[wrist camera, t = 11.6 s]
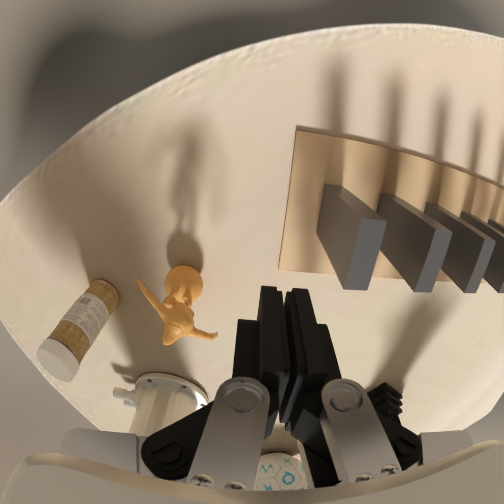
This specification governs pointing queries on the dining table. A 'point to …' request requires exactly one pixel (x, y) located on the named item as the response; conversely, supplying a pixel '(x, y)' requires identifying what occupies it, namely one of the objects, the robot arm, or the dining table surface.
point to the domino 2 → (412, 242)
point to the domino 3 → (463, 249)
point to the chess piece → (386, 401)
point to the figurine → (178, 304)
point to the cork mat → (370, 194)
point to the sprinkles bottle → (77, 331)
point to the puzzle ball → (279, 473)
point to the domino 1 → (349, 236)
